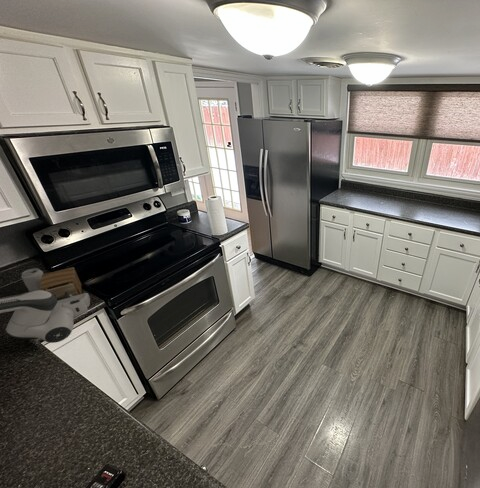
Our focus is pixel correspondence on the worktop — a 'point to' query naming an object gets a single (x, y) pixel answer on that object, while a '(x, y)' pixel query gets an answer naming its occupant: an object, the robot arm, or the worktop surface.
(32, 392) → the worktop surface
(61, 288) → the drawer
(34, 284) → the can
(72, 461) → the worktop surface
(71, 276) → the storage box
